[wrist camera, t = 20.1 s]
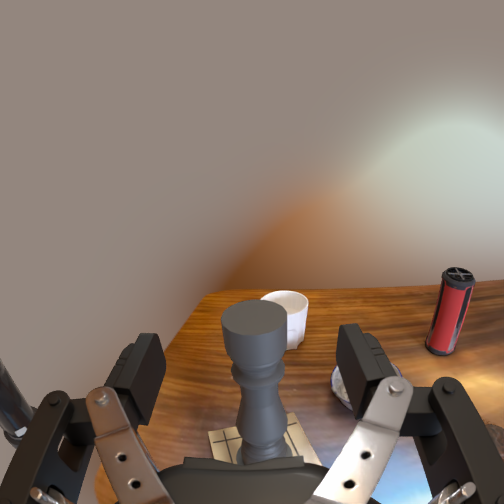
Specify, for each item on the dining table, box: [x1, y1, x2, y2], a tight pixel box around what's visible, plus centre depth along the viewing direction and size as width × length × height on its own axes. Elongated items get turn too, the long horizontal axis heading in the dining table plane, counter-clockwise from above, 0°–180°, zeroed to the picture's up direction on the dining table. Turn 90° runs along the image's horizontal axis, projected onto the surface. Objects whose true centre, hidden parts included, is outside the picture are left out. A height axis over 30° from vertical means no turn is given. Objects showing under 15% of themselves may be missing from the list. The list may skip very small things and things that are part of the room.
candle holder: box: [221, 300, 288, 465], centre depth 28 cm, size 6×6×25 cm
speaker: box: [425, 267, 475, 355], centre depth 48 cm, size 8×8×18 cm
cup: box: [261, 291, 308, 350], centre depth 60 cm, size 10×10×10 cm
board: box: [208, 412, 322, 466], centre depth 33 cm, size 14×14×2 cm
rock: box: [485, 424, 504, 462], centre depth 23 cm, size 11×12×3 cm
